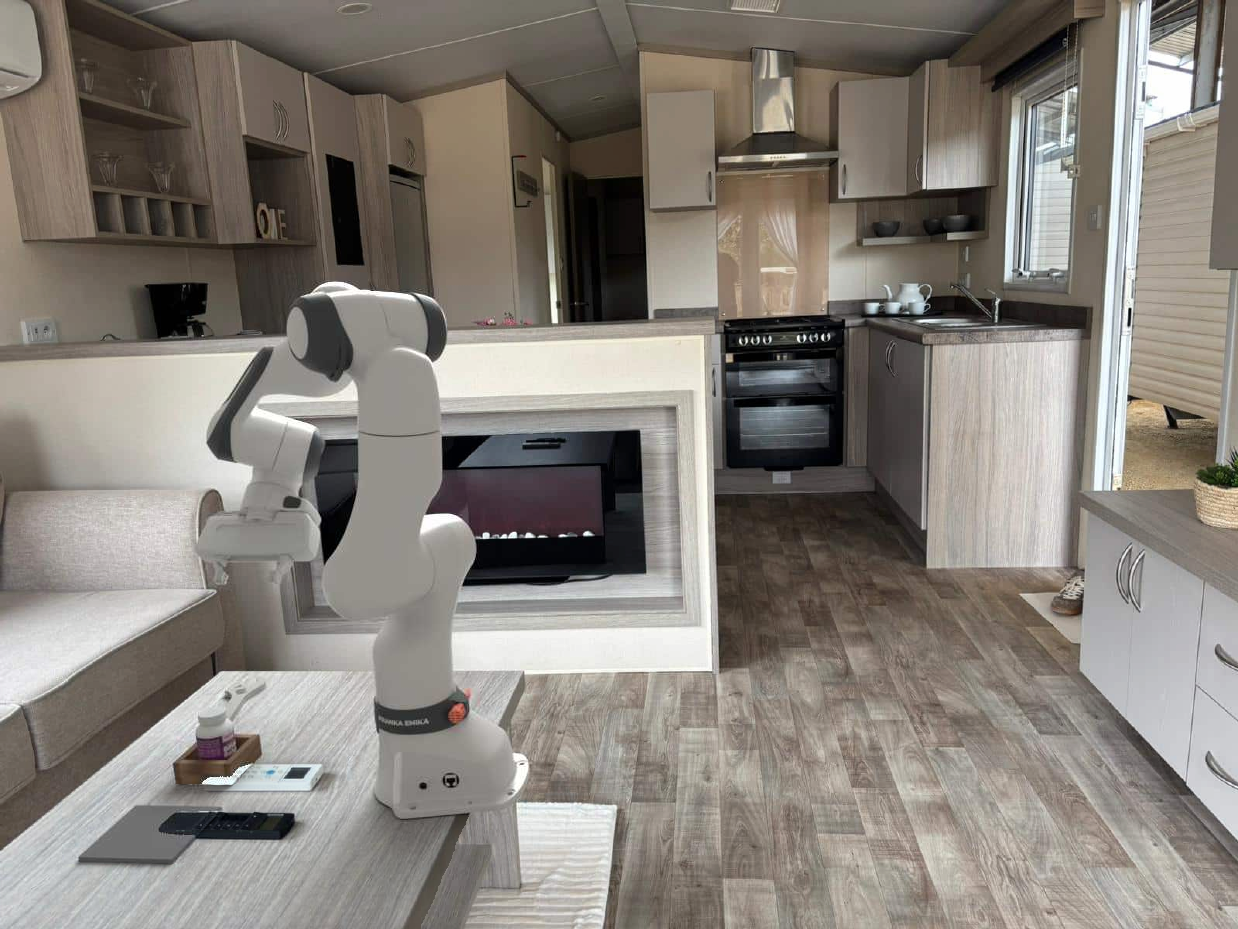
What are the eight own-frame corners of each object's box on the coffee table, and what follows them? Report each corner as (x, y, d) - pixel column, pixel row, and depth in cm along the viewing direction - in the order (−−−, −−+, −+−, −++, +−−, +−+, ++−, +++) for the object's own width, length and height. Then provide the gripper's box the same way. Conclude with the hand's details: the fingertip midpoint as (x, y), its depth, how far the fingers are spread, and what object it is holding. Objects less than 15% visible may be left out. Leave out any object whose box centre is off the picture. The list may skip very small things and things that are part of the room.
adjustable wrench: (215, 751, 146) (213, 741, 146) (175, 754, 146) (173, 743, 146) (271, 684, 171) (269, 675, 171) (236, 686, 171) (235, 677, 171)
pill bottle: (235, 775, 138) (227, 716, 136) (197, 781, 137) (189, 722, 135) (241, 758, 143) (233, 701, 141) (205, 763, 142) (196, 706, 140)
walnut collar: (262, 754, 144) (259, 734, 143) (232, 785, 135) (229, 764, 134) (208, 754, 145) (205, 734, 144) (175, 784, 136) (172, 763, 135)
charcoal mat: (222, 810, 128) (221, 806, 128) (172, 863, 117) (171, 859, 116) (136, 809, 130) (135, 805, 130) (78, 861, 118) (78, 857, 118)
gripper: (202, 502, 155) (177, 574, 147) (316, 500, 153) (297, 573, 145) (219, 520, 160) (196, 591, 153) (330, 518, 158) (312, 591, 150)
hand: (246, 583), depth 149 cm, fingers open, 8 cm apart
